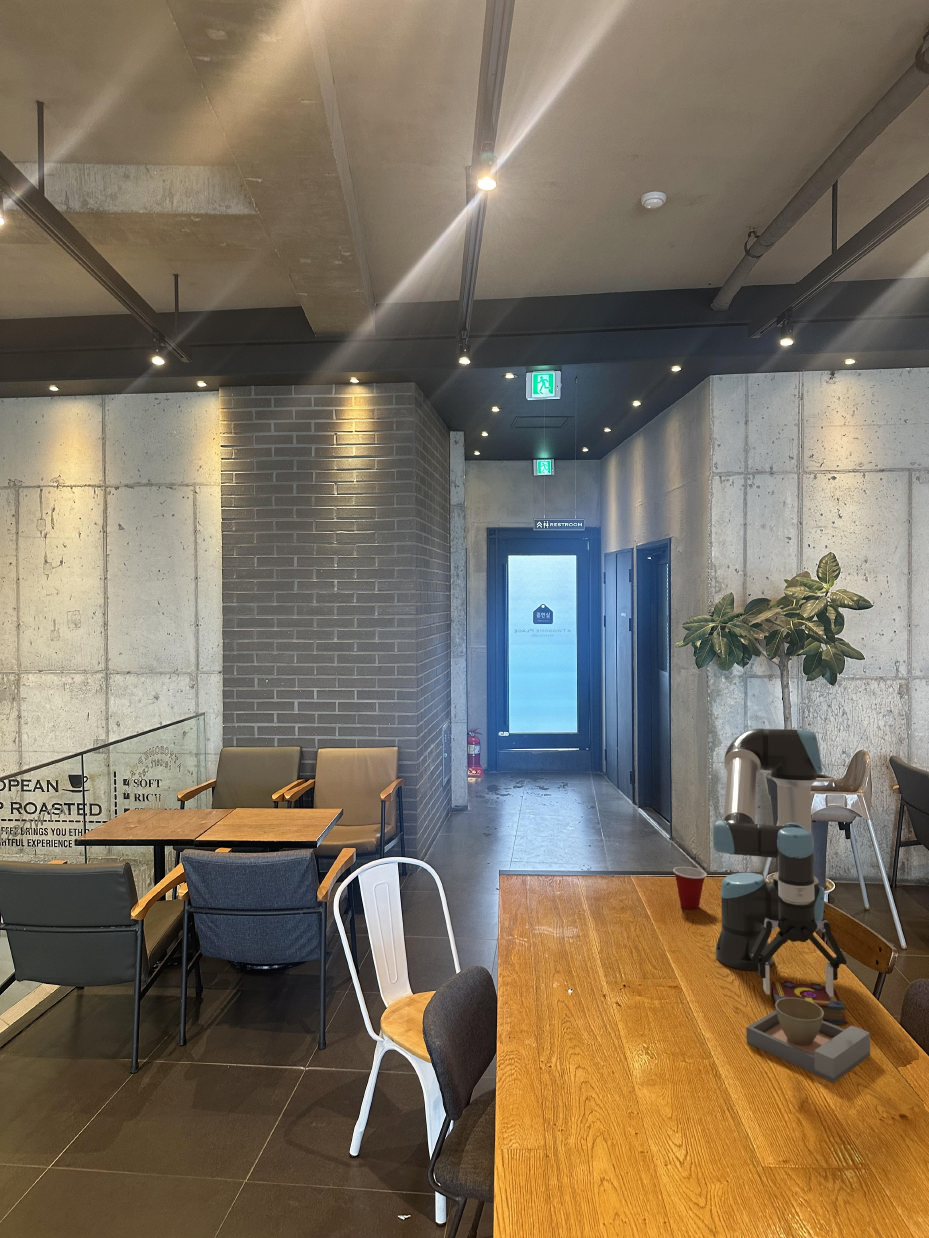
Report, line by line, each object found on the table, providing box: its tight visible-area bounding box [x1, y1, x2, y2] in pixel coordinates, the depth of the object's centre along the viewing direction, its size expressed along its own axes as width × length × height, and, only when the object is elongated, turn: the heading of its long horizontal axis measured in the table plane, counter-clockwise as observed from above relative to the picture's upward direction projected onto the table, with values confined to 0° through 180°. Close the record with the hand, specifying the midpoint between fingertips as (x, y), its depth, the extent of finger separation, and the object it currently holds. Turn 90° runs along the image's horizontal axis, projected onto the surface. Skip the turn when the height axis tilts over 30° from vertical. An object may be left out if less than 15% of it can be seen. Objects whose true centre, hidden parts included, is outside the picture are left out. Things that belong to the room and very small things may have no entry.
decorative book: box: [770, 980, 848, 1026], centre depth 192 cm, size 11×16×5 cm
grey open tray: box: [746, 1010, 871, 1084], centre depth 175 cm, size 16×20×5 cm
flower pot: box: [774, 998, 824, 1046], centre depth 177 cm, size 10×10×7 cm
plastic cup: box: [672, 866, 708, 911], centre depth 261 cm, size 11×11×12 cm
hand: (797, 992), depth 177 cm, fingers open, 13 cm apart
